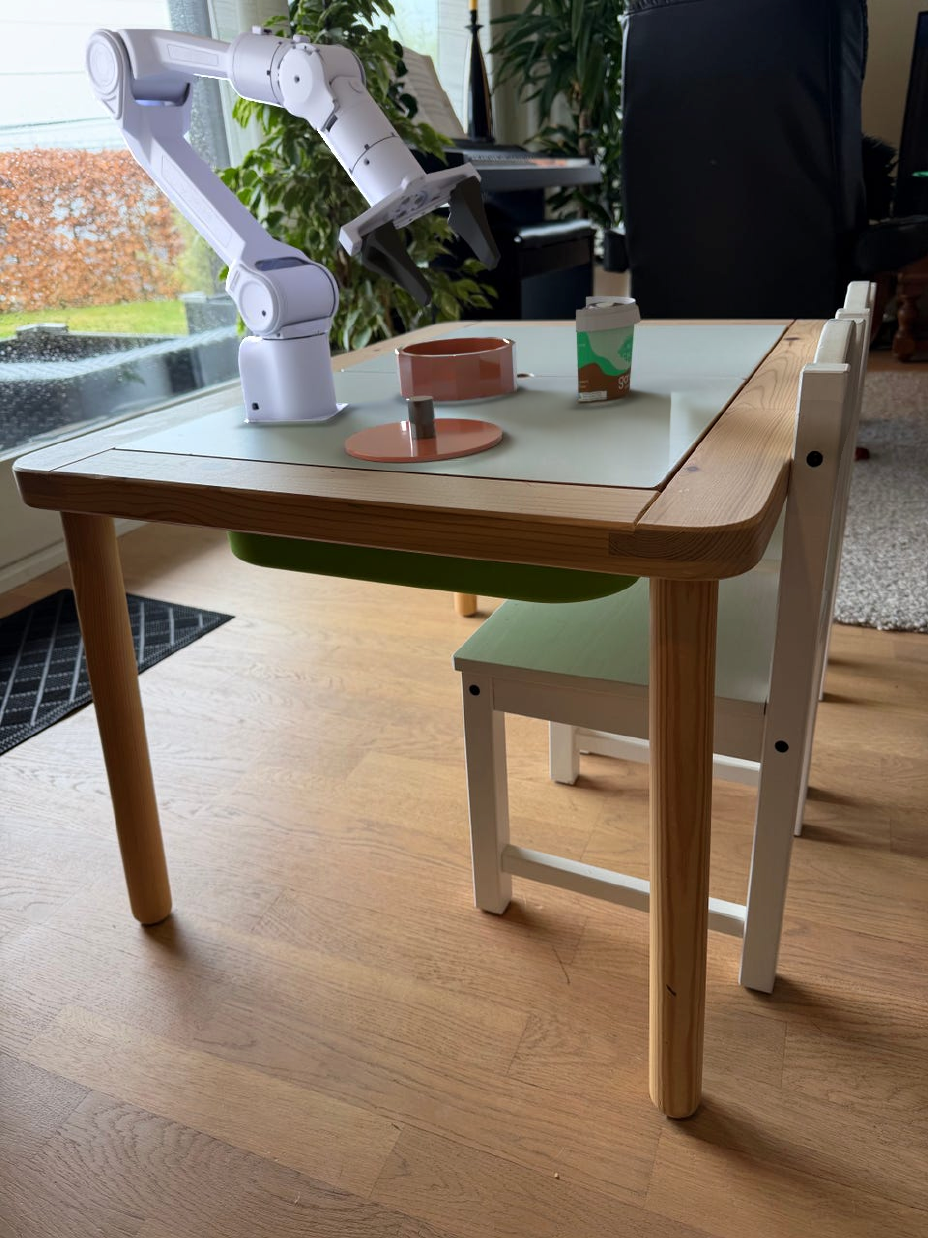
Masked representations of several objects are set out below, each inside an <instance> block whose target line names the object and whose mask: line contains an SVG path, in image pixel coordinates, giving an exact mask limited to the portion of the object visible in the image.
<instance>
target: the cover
mask: <svg viewBox="0 0 928 1238" xmlns="http://www.w3.org/2000/svg"><path fill="white" fill-rule="evenodd" d="M406 402H407V403H406V404H407V415H408V420H405V421H404V420H403V421H396V422H390V423H385V424H381V425H376V426H373V427H369V428H366V429H364V430H360V431H358V432H356V433H354V434H351V436H349V437H348V438H347V439H346V440H345V442H344V450H345V451H346V453H347V454H348V455H349V456H351V457H353V458H357V459H360V460H365V461H371V462H380V463H398V464H399V463H402V464H403V463H404V464H405V463H422V462H423V463H424V462H425V463H426V462H435V461H442V460H449V459H456V458H461V457H465V456H469V455H470V456H471V455H474V454H477V453H480V452H483V451H486V450H489V449H491V448H492V447H495V446H496V445H498V444H499V443H500V442H501V441H502V439H503V430H502V428H501V427H500V426H498V425H496V424H494V423H491V422H489V421H484V420H478V419H471V418H453V417H452V418H451V417H449V418H448V417H446V418H445V417H443V418H441V417H440V418H439V417H437V418H436V414H435V403H434V402H435V401H434V400H433V397H432V396H415V397H410V398H406Z"/></svg>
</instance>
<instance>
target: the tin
mask: <svg viewBox="0 0 928 1238" xmlns="http://www.w3.org/2000/svg"><path fill="white" fill-rule="evenodd" d="M394 351H395V363H396V374H397V380H398V381H397V382H398V383H397V384H398V393H399V395H400V396H401V398H405V399H408V398H410V397H415V396H432V397H433V400H434V402H459V401H468V400H478V399H484V398H490V397H495V396H499V395H504V394H506V393H515V392H517V391H518V385H519V384H518V363H517V361H518V360H517V342H516V341H514V340H512V338H505V337H499V336H498V337H497V336H461V337H460V336H459V337H458V336H457V337H448V338H447V337H446V338H437V339H429V340H424V341H418V342H417V341H416V342H412V343H408V344H406V345H401V346H400V347H398V348H397V349H395V350H394Z"/></svg>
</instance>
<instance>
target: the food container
mask: <svg viewBox="0 0 928 1238" xmlns="http://www.w3.org/2000/svg"><path fill="white" fill-rule="evenodd" d="M575 316H576V317H575V333H576V357H577V359H576V360H577V388H578V389H577V390H578V391H577V393H578V395H577V396H578V404H593V403H594V404H595V403H603V402H608V401H614V400H615V401H616V400H618V399H622V398H625V397H627V396H628V395H630V392H631V391H630V390H631V378H632V377H631V375H632V363H633V349H634V335H635V325H638V324H639V323H641V315H640V309H639V305H637V304H636V299H635V298H632V297H629V296H628V297H627V296H616V295H615V296H613V295H612V296H611V295H610V296H609V295H608V296H607V295H604V296H603V295H601V296H599V295H597V296H586V297H585V307H582V309H576V310H575Z"/></svg>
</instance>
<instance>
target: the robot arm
mask: <svg viewBox="0 0 928 1238" xmlns="http://www.w3.org/2000/svg"><path fill="white" fill-rule="evenodd" d="M251 27H252V28H251V29H252V31H251V30H247V31H243V32H240V33H239V34H238V35H237V36H235V38H233V40H232V41H231V42H229V41H224V40H220V39H217V38H212V37H208V36H204V35H201V34H196V33H192V32H188V31H180V30H171V29H162V28H120V29H116V31H112V30H111V29H107V28H98V29H95V30H93V31H92V32H91V33H90V35H89V37H88V39H87V41H86V45H85V49H84V66H85V72H86V78H87V85H88V92H89V94H90V96H92V97H93V99H94V100H95V101H96V102H97V104H98V105H99V106H100V107H101V108H102V109H103V110H104V112H105V113H106V114H107V116H109V117H110V118H111V119H112V120H113V122H114V123H115V125H116V126H117V128H118V131H119V132H120V134H121V136H122V138H123V140H124V142H125V144H126V146H127V148H128V150H129V151H130V154H131V155H132V157H133V158H134V160H135V161H136V163H137V164H138V165H139V166H140V167H141V168H142V169H143V171H144V172H145V173H146V174H147V175H148V176H149V177H150V179H151V180H152V181H153V182H154V184H155V185H157V186H158V188H159V189H160V190H161V191H162V192H163V194H165V196H166V197H167V198H168V199H169V201H170V202H171V203H172V204H173V205H174V206H175V207H176V209H177V210H178V211H179V212H180V213H181V214H182V215H183V217H185V219H186V220H187V222H189V224H190V225H191V226H192V227H193V228H194V229H195V230H196V231H197V233H198V234H199V235H200V236H201V237H202V239H203V240H205V242H206V243H207V244H208V245H209V246H210V247H211V249H212V250H213V251H214V252H215V253H216V254H217V256H218V257H219V258H220V259H221V260H222V261H223V262H224V263H225V265H226V266H227V267H228V269H229V271H228V274H227V278H226V284H225V291H226V293H227V294H228V295H229V296H230V298H231V299H232V300H233V303H235V305H236V307H237V310H238V312H239V315H240V318H241V319H242V322H243V323H244V324H245V325H246V327H247V328H248V329H249V330H250V331H251V332H252V334H253V336H248V337H244V339H243V340H242V341H241V343H240V345H239V348H238V357H237V360H238V363H237V364H238V371H239V378H240V384H241V390H242V397H243V402H244V409H245V414H246V415H245V416H246V419H245V420H244V423H264V422H270V423H271V422H307V421H308V422H309V421H311V422H312V421H327V420H329V419H331V418H332V417H334V416H335V415H337V414H338V413H340V412H341V411H342V410H344V409H345V408H346V407H348V406H349V405H350V404H349V403H337V397H336V388H335V381H334V380H335V379H334V373H333V364H332V357H331V356H332V355H331V348H330V339H329V331H328V330H331V329H333V328H332V319H334V317H335V315H336V314H337V312H338V308H339V306H340V305H339V304H340V293H339V292H340V291H339V288H338V283H337V281H336V279H335V277H334V275H333V273H332V272H331V271H330V270H329V268H327V267H326V266H325V265H323V264H321V263H318V262H315V261H313V260H311V258H309V257H308V256H307V255H306V254H305V253H304V252H303V251H302V250H300V249H299V248H298V247H297V248H296V247H295V246H292V245H290V244H286V243H285V242H282V241H280V240H277V239H276V238H273V237H272V235H270V234H269V232H268V231H267V230H266V229H265V227H264V226H263V225H261V223H260V222H259V221H258V220H257V219H256V217H254V215H253V214H252V213H251V212H250V211H249V210H248V208H246V206H245V205H244V204H243V203H242V202H241V200H240V199H239V198H238V197H237V196H236V195H235V193H233V192H232V190H231V189H230V188H229V187H228V186H227V185H226V184H225V182H224V181H223V180H222V179H221V178H220V176H219V175H218V174H217V173H216V172H215V171H214V170H213V169H212V167H210V166H209V164H208V163H207V162H206V161H205V160H204V159H203V157H202V156H201V155H200V154H199V153H198V152H197V150H196V149H194V147H193V146H192V145H191V144H190V143H189V142H188V141H187V139H186V138H185V135H186V134H187V133H188V132H189V131H190V130H191V122H192V111H193V110H192V108H193V96H194V93H193V92H194V84H198V83H199V81H200V76H201V77H206V78H207V77H208V78H214V79H220V80H226V81H229V83H230V85H231V87H232V89H233V90H234V91H235V93H236V94H237V95H238V96H240V98H243V99H245V100H248V101H254V102H257V103H262V104H267V105H271V106H274V107H275V106H276V107H280V108H284V109H285V110H287V112H288V113H290V114H291V115H293V116H295V117H297V118H303V119H305V120H306V121H307V122H308V123H309V124H310V126H311V127H312V128H313V130H314V131H318V133H319V134H320V136H321V138H323V140H324V141H325V143H326V145H327V146H328V147H329V148H330V150H331V152H332V153H333V154H334V156H335V157H336V159H337V160H338V162H339V163H340V165H341V166H342V167H343V169H344V170H345V171H346V173H347V175H348V176H349V177H350V178H351V181H353V183H354V184H355V186H356V187H357V189H358V190H359V191H360V193H361V194H362V196H363V197H364V199H365V200H366V201H367V203H368V204H369V206H370V208H368V209H367V210H366V211H364V212H363V213H361V214H360V215H359V216H357V217H356V218H354V219H353V220H351V221H349V222H348V223H346V224H344V225H342V226H341V227H340V231H339V237H338V241H339V242H340V244H341V245H342V246H343V248H344V249H345V251H346V252H347V254H348V255H349V256H350V257H353V256H355V255H357V254H358V253H360V252H361V255H360V261H361V263H362V264H363V266H364V267H365V268H366V269H367V270H369V271H372V272H374V273H377V274H379V275H380V276H382V277H384V278H386V279H387V280H390V281H391V282H392V283H394V284H396V285H397V286H398V287H400V288H401V289H403V290H404V291H405V292H407V294H409V296H411V297H412V298H413V299H415V300H416V301H417V302H418V304H420V305H421V306H422V307H423V308H426V307H427V306H429V305H430V304H431V302H432V299H433V297H434V294H435V292H434V290H433V288H432V286H431V284H430V283H429V281H428V279H427V278H426V277H425V275H424V274H423V273H422V271H421V270H420V268H419V267H418V266H417V264H416V262H415V261H414V259H412V257H411V255H410V252H409V251H408V249H407V248H406V246H405V245H404V241H403V240H402V239H401V236H400V234H399V232H398V230H399V229H401V228H403V227H406V226H407V225H409V224H410V223H412V222H413V221H416V220H417V219H419V218H421V217H423V216H425V215H427V214H428V213H430V212H432V211H434V210H437V209H438V208H440V207H443V206H445V205H446V204H447V205H448V206H449V207H448V208H447V210H448V211H449V212H450V213H449V217H448V218H447V222H446V224H447V225H448V226H449V227H451V229H453V230H454V231H456V233H457V234H459V235H460V236H461V238H463V240H464V241H465V242H466V243H467V244H468V245H469V247H470V248H471V249H472V251H473V252H474V254H475V255H476V257H477V258H478V260H479V261H480V262H481V264H482V265H483V266H484V267H485V268H486V270H488V271H489V272H491V271H493V270H494V269H496V268H497V266H498V264H499V262H500V259H501V258H502V256H501V254H500V252H499V249H498V247H497V244H496V242H495V240H494V237H493V234H492V231H491V228H490V225H489V222H488V219H487V215H486V214H487V213H486V210H485V205H484V197H483V189H482V183H481V181H482V177H481V175H480V174H479V173H478V171H477V170H476V169H475V167H474V165H473V164H472V163H471V161H468V162H467V163H465V164H462V165H460V166H457V167H453V168H449V169H444V170H440V171H436V172H431V173H428V174H427V173H426V172H425V171H424V169H423V168H422V166H421V165H420V163H419V162H418V161H417V159H416V158H415V156H414V155H413V153H412V152H411V150H410V149H409V148H408V146H407V145H406V143H405V142H404V141H403V138H402V137H401V136H400V135H399V134H398V132H397V130H396V129H395V128H394V126H393V125H392V123H391V122H390V121H389V119H388V117H387V116H386V115H385V113H384V112H383V111H382V109H381V108H380V106H379V105H378V104H377V102H376V101H375V99H374V97H373V96H372V95H371V94H370V92H369V91H368V89H367V77H366V72H365V68H364V65H363V63H362V61H361V60H360V58H359V56H358V55H357V54H356V53H355V52H354V51H352V50H351V49H349V48H347V47H345V46H344V45H342V44H340V43H339V44H338V43H337V44H332V45H329V44H321V43H320V44H319V43H312V42H311V37H310V36H309V35H305V34H304V35H303V34H298V33H297V34H296V33H295V34H294V35H293V36H292V38H289V37H283V36H279V35H274V29H273V28H272V27H270V26H268V27H267V26H263V25H255V24H254V25H252V26H251Z"/></svg>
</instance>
